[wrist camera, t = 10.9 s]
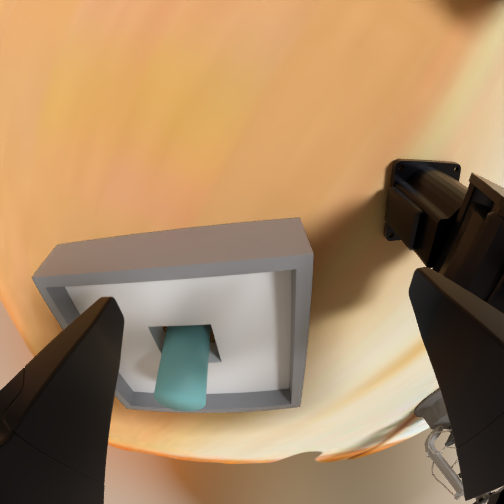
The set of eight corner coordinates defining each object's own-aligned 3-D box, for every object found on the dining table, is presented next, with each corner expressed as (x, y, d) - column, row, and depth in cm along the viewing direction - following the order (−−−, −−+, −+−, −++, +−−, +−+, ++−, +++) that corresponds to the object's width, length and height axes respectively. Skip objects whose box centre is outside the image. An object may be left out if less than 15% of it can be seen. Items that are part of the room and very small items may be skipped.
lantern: (422, 422, 51) (449, 519, 27) (401, 409, 43) (434, 539, 18) (483, 383, 45) (519, 480, 20) (480, 359, 36) (531, 488, 12)
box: (299, 217, 20) (313, 253, 16) (295, 373, 31) (300, 406, 27) (57, 244, 20) (31, 277, 17) (133, 378, 31) (126, 408, 28)
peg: (206, 308, 25) (198, 388, 18) (214, 337, 27) (210, 411, 20) (163, 311, 25) (146, 387, 18) (175, 339, 27) (163, 410, 20)
